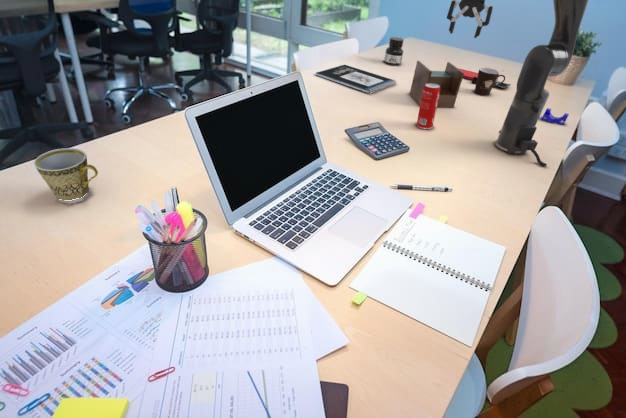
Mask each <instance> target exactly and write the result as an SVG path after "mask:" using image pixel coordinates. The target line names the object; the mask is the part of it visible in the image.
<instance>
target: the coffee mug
mask: <svg viewBox="0 0 626 418" xmlns="http://www.w3.org/2000/svg"><path fill="white" fill-rule="evenodd" d="M477 73H478V77H477V82H476V84H475V88H474V91H473V92H474V94H476V95H479V96H483V97H488V96H489V95H490V93H491V92H492V89H493V88H496V87H499V86H498V85H500V84H502V83H505V81H506V76H505V75H504V74H500V71H499V70H497V69H495V68H491V67H479V69H478V71H477ZM500 77H503V80H502V81H500V82H501V83H499V84H497V85H494V83H495V81H496V79H497V78H498V79H499V78H500Z"/></svg>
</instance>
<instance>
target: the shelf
mask: <svg viewBox="0 0 626 418" xmlns="http://www.w3.org/2000/svg"><path fill="white" fill-rule="evenodd" d="M445 65H446V66H445V69H444V70H431V69H430V68H428V67H427V66H426V65H425V64H424V63H423V62H421V61H420V60H417V61H416V65H415V69H414V73H413V77H412V82H411V86H410V89H409V96H411V98H412V99H413V100H414V101H415V102H416V104H418V105H419V106H420V103H421V97H422V92H423V88H424V86H425V84H426V83H435V84H438V85H440V95H439V99H438V104H437V108H449V109H450V108H451V109H453V108H454V107H455V104H456V100H457V97H458V94H459V91H460V88H461V85H462V82H463V75H464V73H463V72H462V71H461V70H459V69H460V68H459V67H457V66H455V65H454V64H452V62H450V61H447V62H446V64H445ZM458 68H459V69H458Z"/></svg>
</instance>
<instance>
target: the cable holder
mask: <svg viewBox="0 0 626 418" xmlns="http://www.w3.org/2000/svg"><path fill="white" fill-rule="evenodd" d="M569 115H570V113H567V112H564V114H563V115H562V116H554V115H553V114H552V108H549V107H547V108H546V109H545V111H544V113H543V115H542V117H541V121H544V122H546V123H550V124H552V123H555V124H558V125H562V126H564V125H565V123H566V121H567V120H568V118H569Z"/></svg>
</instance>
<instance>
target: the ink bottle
mask: <svg viewBox="0 0 626 418" xmlns="http://www.w3.org/2000/svg"><path fill="white" fill-rule="evenodd" d="M403 46H404V38H402V37H397V36H392V37H389V42H388V47H386V49H385V53H384V57H383V58H384V59H383V62H384V64H386V65H389V66H400V65H401V64H402V61H403V60H402V59H403V55H404V50H403Z"/></svg>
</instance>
